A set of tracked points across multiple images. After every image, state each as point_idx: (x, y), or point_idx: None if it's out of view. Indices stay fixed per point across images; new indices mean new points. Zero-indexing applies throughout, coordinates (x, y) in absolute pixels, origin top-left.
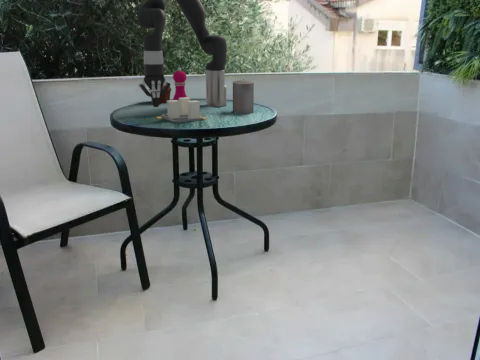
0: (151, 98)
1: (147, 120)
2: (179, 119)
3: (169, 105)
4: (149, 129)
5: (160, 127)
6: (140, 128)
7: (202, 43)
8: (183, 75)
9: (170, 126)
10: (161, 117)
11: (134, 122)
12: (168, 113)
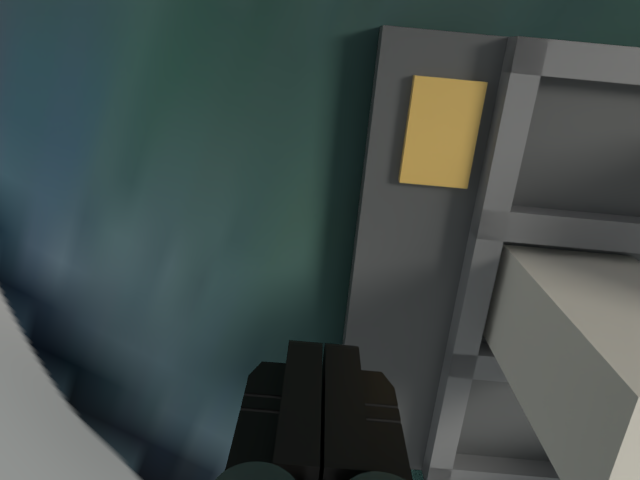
0: (227, 466)
1: (289, 41)
2: None
3: (561, 452)
4: (147, 474)
5: None
6: (78, 403)
7: None
8: None
9: None
10: (456, 167)
11: (87, 78)
12: (522, 311)
